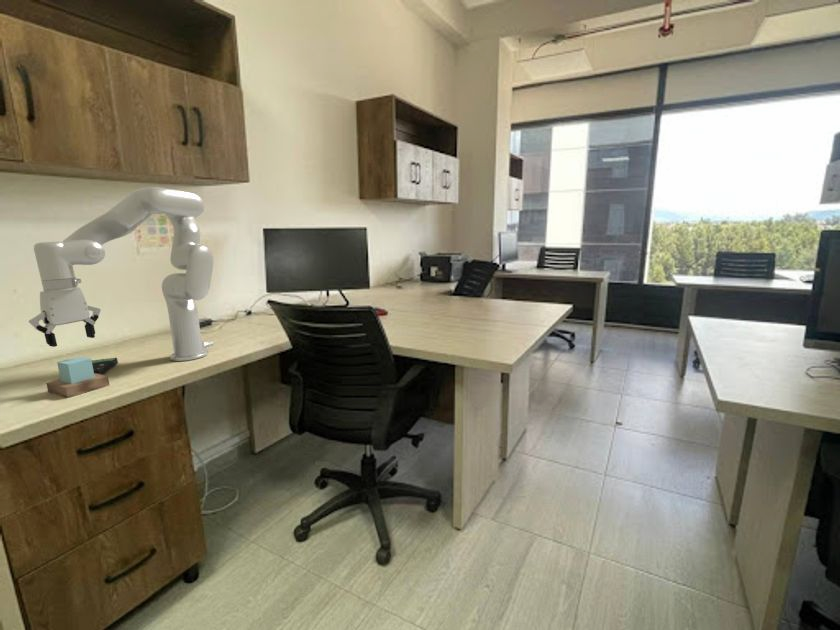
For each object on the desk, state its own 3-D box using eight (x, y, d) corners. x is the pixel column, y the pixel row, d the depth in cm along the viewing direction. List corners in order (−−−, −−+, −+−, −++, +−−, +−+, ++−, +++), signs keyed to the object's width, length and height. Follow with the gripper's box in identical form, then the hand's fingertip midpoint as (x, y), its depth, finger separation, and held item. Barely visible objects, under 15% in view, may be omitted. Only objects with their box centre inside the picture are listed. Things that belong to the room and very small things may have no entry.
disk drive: (102, 377, 138) (118, 364, 152) (100, 369, 137) (117, 356, 151) (64, 381, 135) (85, 367, 149) (62, 373, 134) (83, 360, 148)
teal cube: (83, 374, 130) (80, 356, 128) (94, 377, 127) (91, 358, 126) (60, 381, 124) (57, 362, 123) (71, 383, 122) (67, 364, 121)
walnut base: (90, 380, 133) (88, 371, 133) (109, 385, 129) (108, 376, 128) (48, 392, 124) (46, 382, 123) (67, 398, 119) (65, 388, 118)
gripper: (86, 280, 129) (98, 333, 133) (15, 289, 114) (30, 348, 118) (100, 281, 126) (111, 335, 130) (28, 290, 111) (43, 351, 115)
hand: (72, 341), depth 124 cm, fingers open, 9 cm apart
